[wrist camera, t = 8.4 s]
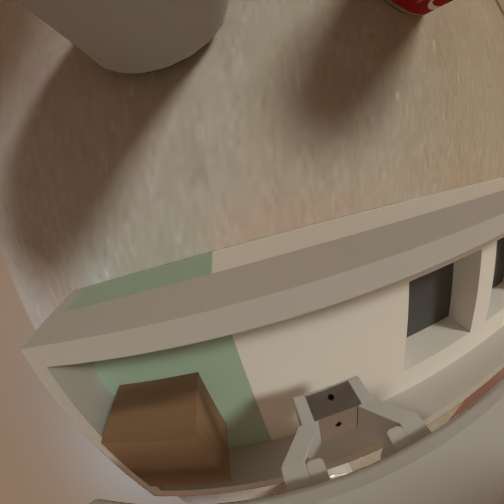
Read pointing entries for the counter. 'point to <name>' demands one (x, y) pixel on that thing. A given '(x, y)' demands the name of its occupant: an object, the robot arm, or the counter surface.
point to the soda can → (417, 5)
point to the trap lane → (296, 327)
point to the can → (133, 29)
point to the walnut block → (169, 432)
